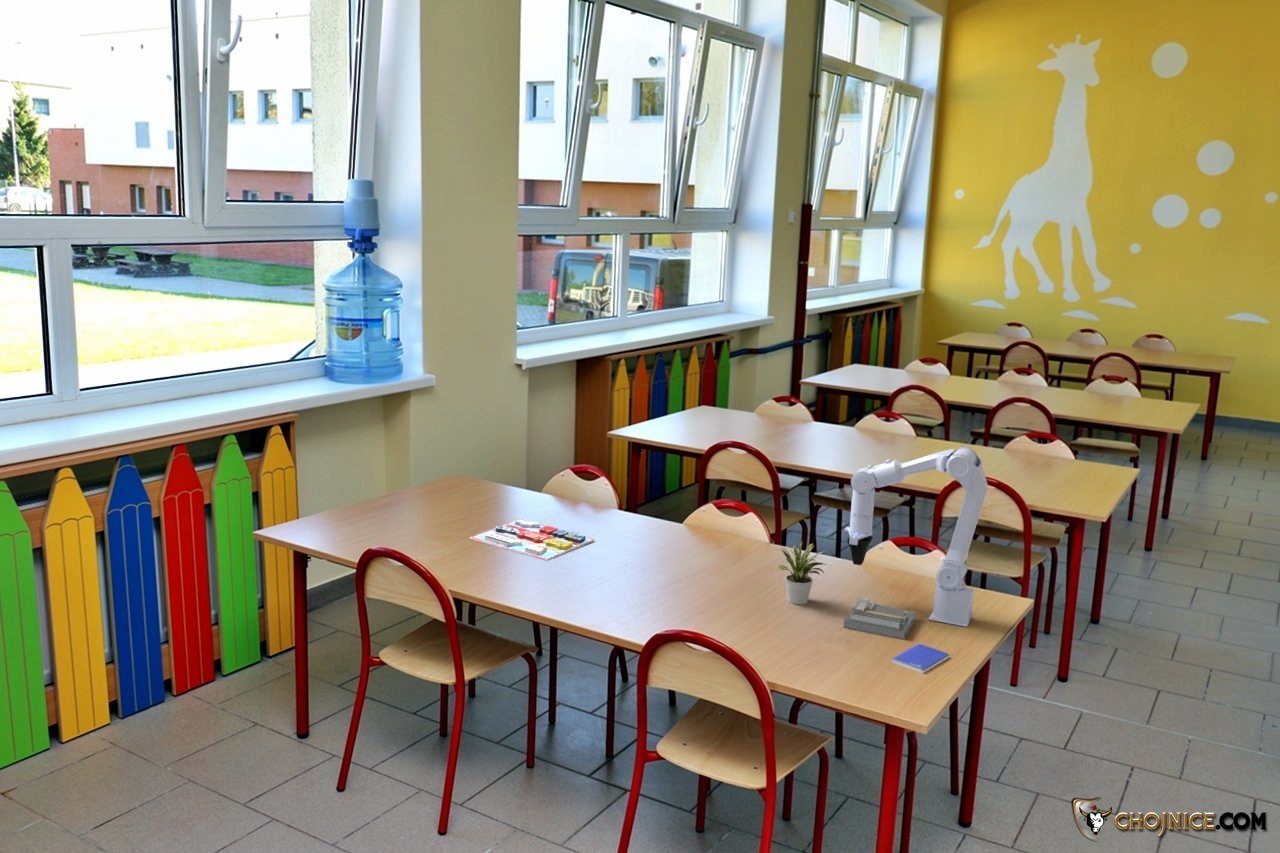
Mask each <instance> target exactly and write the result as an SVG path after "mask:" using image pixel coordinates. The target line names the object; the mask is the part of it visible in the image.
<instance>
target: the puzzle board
mask: <svg viewBox="0 0 1280 853" xmlns="http://www.w3.org/2000/svg"><path fill="white" fill-rule="evenodd" d="M468 540H469V541H473V542H477V543H481V544H484V545H488V546H491V547H495V548H499V549H503V550H506V551H510V552H513V553H517V554H521V555H524V556H527V557H532V558H535V559H539V560H542V561H546V562H547V561H550V560H552V559H554V558H557V557H560V556H562V555H565V554H567V553H570V552H573V551H574V550H577V549H579V548H582V547H584V546H587V545H589V544H591V543H594V542H595V540H596V539H595V538H592V537H588V536H585V535H584V534H581V533H578V532H575V531H571V532H569V531H566V530H561V529H558V528H557V527H553V526H551V525H543V524H540V522H537V521H528V520H524V519H521V518H520V519H519V518H518V519H515V520H512V521H510V522H507V523H504V524H501V525H497V526H495V527H493V528H491V529H488V530H485V531H482V532H479V533H478V534H475V535H472V536H470V537H469V539H468Z"/></svg>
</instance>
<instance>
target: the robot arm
mask: <svg viewBox="0 0 1280 853" xmlns="http://www.w3.org/2000/svg"><path fill="white" fill-rule="evenodd" d="M931 470H936V471H938V472H940V473H943V474H945V473H946V472H947V474H948V475H949V476H951V478H953V479H954V480H955V481H957V482H958V483H960V485H961V486H962V488H963V490H964V491H965V495H964V499H963V502H962V504H961V509H960V511H959V515H958V518H957V522H956V525H955V528H954V532H953V534H952V537H951V541H950V545H949V547H948V550H947V553H946V556H945V558H944V560H943V561H942V564H941V566H940V567H939V568H938V569H937V571H936V574H935V578H936V582H935V591H934V602H933V603H934V604H933V610H932V612H931V614H930V615H929V617H928V619H929V620H930V621H935V622H938V623H939V622H940V623H944V624H949V625H956V626H958V627H959V626H960V627H961V626H962V627H966V628H967V627H968V626H969V624H970V622H971V619H973V618H972V617H973V605H974V598H975V597H974V596H975V590H974V588H971V587H968V586H967V584H966V583H965V580H964V576H965V575H966V574H967V573H968V563H967V560H968V557H969V556H968V555H969V551H970V550H969V549H970V546H971V543H972V540H973V537H974V535H975V534H974V533H975V531H976V527H977V524H978V522H979V518H980V515H981V512H982V509H983V505H984V502H985V499H986V497H987V492H988V488H989V487H988V486H989V484H988V482H987V477H986V475H985V471H984V468H983V463H982V459H981V458H980V456H979V455H978V454H977V453H976V451H975V450H974V449H972V448H971V447H968V446H961V447H958V448H957V449H955V448H951V449H946V450H943V451H942V450H941V451H936V452H935V453H931V454H928V455H925V456H921V457H919V458H915V459H912V460H909V461H906V462H901V461H899V460H897V459H894V460H892V459H891V458H888V459H886V460H885V462H883V463H880V464H876V465H873V464H869V465H868V466H867V467H861V468H860V469H858V470H857V471H856V472H855V473H853V475H852V477H851V480H850V485H851V488H852V496H851V506H850V519H849V526H846V527H845V528H844V531H845V532H847V533H848V535H849V536H848V537H847V540H846V542H847V544H848V546H849V549H850V552H851V559H852V564H853V565H856V566H862V564H863V563H864V561H865V558H866V554H867V552H868V551H867V550H868V548H869V547H870V546H869V545H870V543H871V542H872V540H873V537H874V536H872V535H873V520H874V519H873V518H874V508H875V490H876V489H875V488H877V489H879V488H883V487H887V486H890V485H895V484H899V483H902V482H903V481H904V480H905V477H906V476H910V475H914V474H917V473H923V472H928V471H931Z"/></svg>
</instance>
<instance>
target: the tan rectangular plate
mask: <svg viewBox="0 0 1280 853" xmlns="http://www.w3.org/2000/svg"><path fill="white" fill-rule="evenodd" d="M864 611H865V612H870V613H876V614H881V615H886V616H891V617H896V618H900V616H895V615H890V614H885V613H880V612H875V611H870V610H864Z"/></svg>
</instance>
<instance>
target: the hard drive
mask: <svg viewBox="0 0 1280 853" xmlns="http://www.w3.org/2000/svg"><path fill="white" fill-rule="evenodd" d="M949 657H950V654H949V653H948V652H945V651H942V650H939V649H937V648H933V647H930V646H928V645H924V644H921V643H917V644H915V645H914V646H912V647H910V648H908V649H907V650H905V651H903V652H901V653H899V654H897V655H896V656H894V657H892V658H891V659H890V663H892V664H894V665H898V666H901V667H904V668H906V669H908V670H909V669H910V670H913V671H914V672H917V673H920V674H925V672H927V671H929V670H931V669H932V668H934V667H935V666H938V665H940V664H941V663H942V662H944V661H945V660H947V659H949Z"/></svg>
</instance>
